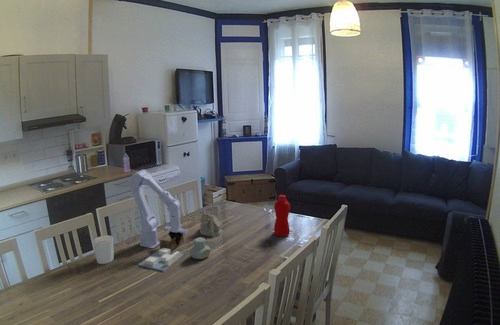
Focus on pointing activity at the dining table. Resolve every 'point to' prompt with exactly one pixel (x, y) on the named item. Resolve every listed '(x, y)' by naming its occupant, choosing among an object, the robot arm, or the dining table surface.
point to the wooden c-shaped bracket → (170, 243)
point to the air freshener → (199, 249)
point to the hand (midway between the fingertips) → (176, 243)
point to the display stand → (161, 259)
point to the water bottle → (282, 216)
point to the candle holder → (104, 249)
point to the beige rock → (210, 225)
